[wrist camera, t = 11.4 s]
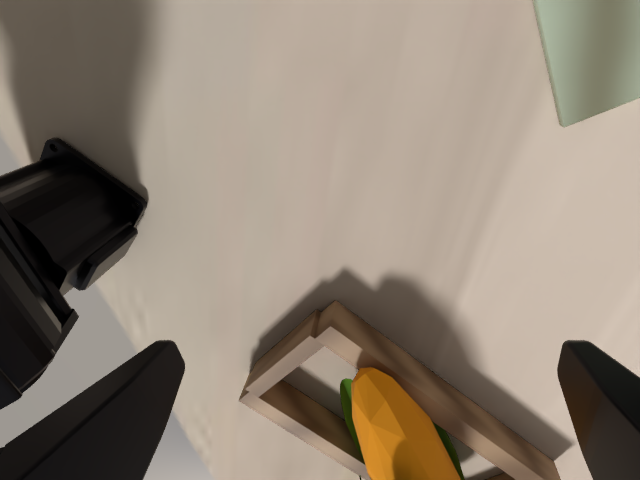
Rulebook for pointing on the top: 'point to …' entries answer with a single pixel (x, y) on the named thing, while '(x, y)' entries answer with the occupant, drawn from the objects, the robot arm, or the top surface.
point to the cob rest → (416, 380)
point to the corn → (395, 431)
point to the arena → (590, 54)
